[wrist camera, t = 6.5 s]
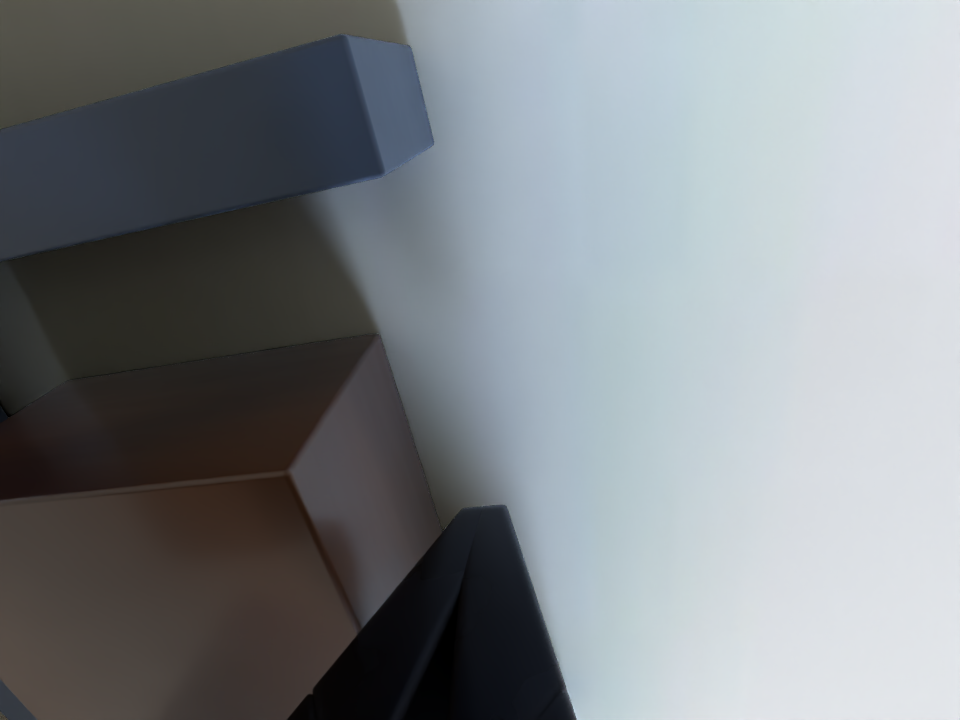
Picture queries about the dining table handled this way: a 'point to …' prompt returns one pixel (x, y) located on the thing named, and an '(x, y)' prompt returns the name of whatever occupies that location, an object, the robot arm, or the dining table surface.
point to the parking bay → (209, 151)
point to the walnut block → (204, 532)
